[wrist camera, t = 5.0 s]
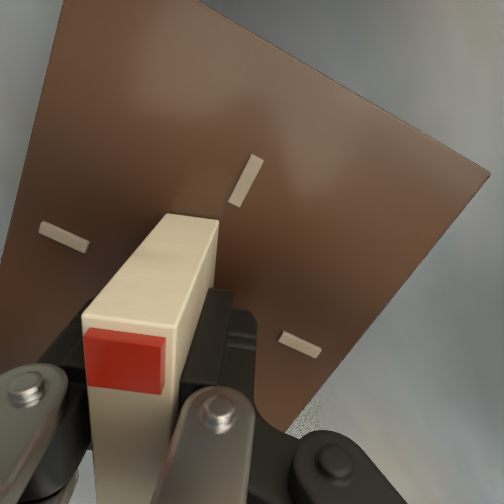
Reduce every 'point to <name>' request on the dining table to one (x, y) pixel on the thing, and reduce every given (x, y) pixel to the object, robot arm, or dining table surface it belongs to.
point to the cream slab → (144, 353)
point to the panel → (220, 186)
